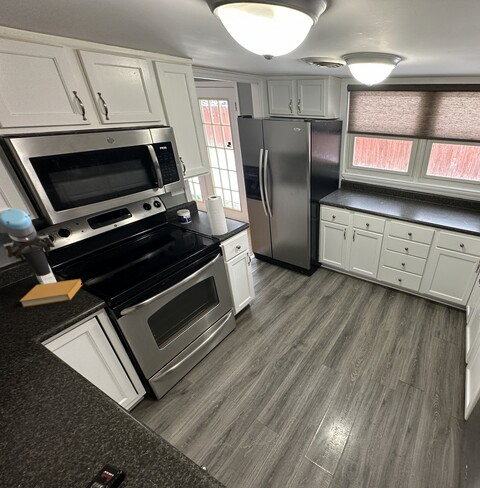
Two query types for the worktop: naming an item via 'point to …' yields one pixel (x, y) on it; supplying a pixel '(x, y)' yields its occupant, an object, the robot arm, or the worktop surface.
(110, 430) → the worktop surface
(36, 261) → the drinking cup
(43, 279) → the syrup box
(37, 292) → the book
